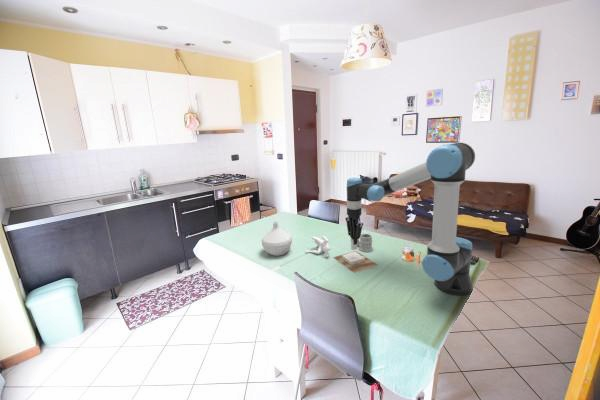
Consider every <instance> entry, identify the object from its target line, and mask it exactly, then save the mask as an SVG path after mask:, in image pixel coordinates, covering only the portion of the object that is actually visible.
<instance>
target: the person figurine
mask: <svg viewBox="0 0 600 400" xmlns="http://www.w3.org/2000/svg"><path fill="white" fill-rule="evenodd" d="M311 239H312V241H313V242H315V243H316V246H315V248H318V249H317V250H316V249H314V250H305V251H304V253H305V254H310V253H312V254H314V255H319V254H321V253H323V252H324V254H323V258H328V257H329V254H328V253H329V252H330V250H331V247H330V245H329V239H328V238H327V237H326V235H322V239H321V238H319V237H316V236H311Z"/></svg>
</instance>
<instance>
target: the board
mask: <svg viewBox="0 0 600 400" xmlns="http://www.w3.org/2000/svg"><path fill="white" fill-rule="evenodd" d="M353 252H356V253H358V254H359V255H361V256H363V257H364V258H365V261H364V262H360V263H357V264H353V265H351V264H349V263H348V262H346V261H345V260H343V259H342V255H345V254H349V253H353ZM332 259H334V260H335V261H337V262H338V263H340V264H341V265H343V266H344V267H345V268H346V269H348V270H349V271H350V272H352V273H353V274H355V273H358V272H361V271H366V270H369V269H372V268H374V267H378V266H379V264H378V263H376V262H374V261H373V260H372V259H370V258H368V257H367V256H365V255H363V254H362V253H360V252H359V251H357V250H353V251H351V252H348V253H343V254H341V255H336V256H333V258H332Z"/></svg>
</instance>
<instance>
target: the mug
mask: <svg viewBox="0 0 600 400" xmlns="http://www.w3.org/2000/svg"><path fill="white" fill-rule="evenodd" d="M372 237H373V236H372V234H369V233H361V236H360V238H359V239H357V247H358V249H359V250H360V252H364V253H370V252H372V251H373V239H372Z"/></svg>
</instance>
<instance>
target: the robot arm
mask: <svg viewBox="0 0 600 400" xmlns="http://www.w3.org/2000/svg"><path fill="white" fill-rule="evenodd" d="M475 160H476V153H475V150H474V148H472V146H470V145H469V144H467V143H464V142H454V143H447V144H442V145H439V146H437V147H435V148H434V149H432V150H431V152H429V154H428V156H427V158H426V161H425V162H423V163H421V164H419V165H416V166H414V167H412V168H409V169H407V170H405V171H403V172H400V173H397V174H395V175H394V176H391V177H389V178H386V179H384V180H381V181H378V182H374V183H363V180H362V178H360V177H351V178H348V179H346V180H347V181H346V207H347V208H346V215H347V216H346V217H345V222H346V228H347V235H348V236H350V250H352V251H357V250H358V246H357V239H359V240H360V237H361V234H362V230H363V226H364V222H362V221H361V215H362V199H363V200H366V201H367V200H368V201H371V202H380V201H382V199H384V197H385V196H387V195H388V196H389V195H392V194H394V193H396V192H398V191H402V190H404V189H406V188H409V187H412V186H414V185H417V184H420V183H422V182H426V181H427V180H430V181H431V182H432V183H433V184H434V189H433V191H434V193H433V210H432V212H433V213H432V228H431V229H432V230H431V231H432V232H431V240H430V241H429V242H428V243H427V248H426V249H427V250H426V251H427V252H426V255H425V256H424V257H423V258H422V261H421V266H422V269H423V271H424V273H426V275H427V276H428V277H429V278H431V279H432V280H434V281H433V282H434V286H435V287H436V288H437V289H438V290H441V292H444V293H447V294H449V295H453V296H465V295H469V294H470V293H472V291H473V283H472V279H471V276H470V270H471V269H470V268H471V262H472V254H473V243H472V241H470V240H469V239H466V238H463V237H458V236H457V229H458V214H459V200H460V188H461V187H460V186H461V185H462V184H463V183H464V182H465V181H466V171H467V170H468V169H470V168H471V167H472V166H473V165H474V163H475Z"/></svg>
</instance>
